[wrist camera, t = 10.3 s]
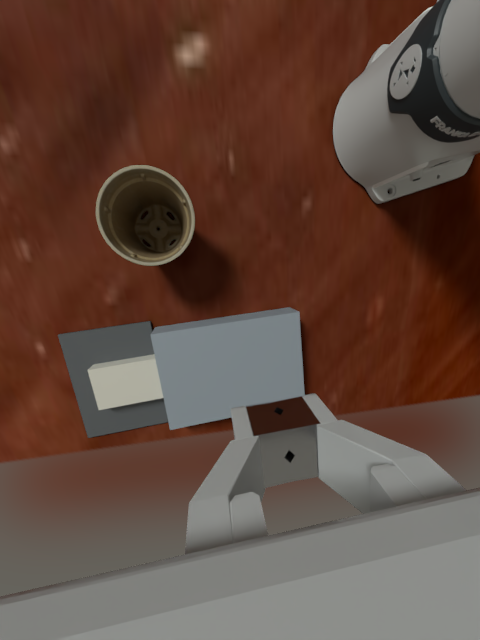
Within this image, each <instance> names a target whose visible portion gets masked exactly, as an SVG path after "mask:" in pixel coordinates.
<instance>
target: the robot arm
mask: <svg viewBox="0 0 480 640" xmlns="http://www.w3.org/2000/svg"><path fill="white" fill-rule="evenodd" d="M333 140H334V146H335V150H336V153H337V156H338V159H339V161H340V163H341V165H342V166H343V168H344V169H345V171H346V172H347V173H348V174H349V175H350V176H351V177H352V178H353V179H354V180H356V181H357V182H359V183H360V184H361V185H363V186H364V187H365V188H366V190H367V192H368V194H369V195H370V197H371V199H372V200H373V201H374V202H375V203H377V204H381V203H384V202H387V201H390V200H393V199H396V198H399V197H402V196H405V195H408V194H411V193H415V192H418V191H421V190H424V189H427V188H430V187H433V186H436V185H439V184H442V183H445V182H448V181H451V180H454V179H457V178H459V177H461V176H463V175H464V174H465V173H466V172H467V170H468V168H469V167H470V165H471V162H472V160H473V157H474V155H475V154H477V153H480V0H437V3H436V4H435V5H434V6H433V7H430V8H428V9H427V10H425V11H424V12H423V13H422V14H421V15H420V16H419V17H418V18H417V19H416V20H415V21H414V22H413V23H412V24H411V25H410V26H409V27H408V28H406V29H405V30H404V31H403V32H402V33H401V34H400V35H399V36H398V37H397V38H396V39H395V40H394V41H393V42H392V43H391V44H390V45H388V44H384V45H382V46H381V47H380V48H378V49H377V50H376V51H375V53H374V54H373V55H372V57H371V59H370V61H369V63H368V65H367V67H366V69H365V70H364V72H363V73H362V74H361V75H360V76H359V77H357V78H356V79H355V80H354V81H353V82H352V83H351V84H350V85H349V86H348V87H347V89H346V90H345V92H344V93H343V95H342V97H341V99H340V101H339V103H338V106H337V108H336V112H335V116H334V122H333ZM388 190H389V194H388ZM231 416H232V423H233V431H234V438H235V440H232V441H230V443H229V444H228V446H227V447H226V449H225V450H224V452H223V453H222V455H221V457H220V458H219V459H218V461H217V462H216V464H215V465H214V467H213V469H212V470H211V471H210V473H209V474H208V476H207V477H206V479H205V480H204V482H203V483H202V485H201V486H200V488H199V489H198V491H197V492H196V494H195V495H194V497H193V498H192V500H191V501H190V503H189V512H188V524H187V537H186V548H185V555H181V556H176V557H173V558H168V559H163V560H159V561H155V562H150V563H146V564H141V565H137V566H133V567H128V568H124V569H119V570H115V571H111V572H106V573H102V574H97V575H93V576H89V577H85V578H80V579H75V580H71V581H67V582H62V583H58V584H54V585H49V586H45V587H40V588H36V589H32V590H27V591H23V592H18V593H14V594H10V595H5V596H1V597H0V640H480V488H476V489H471V490H466V489H465V488H464V487H463V486H462V485H460V484H459V483H458V482H457V481H456V480H455V479H454V478H453V477H451V476H450V475H449V474H448V473H447V472H446V471H444V470H443V469H442V468H441V467H440V466H439V465H438V464H437V463H436V462H434V461H433V460H432V459H431V458H430V457H429V456H428V455H427V454H424V453H422V452H419V451H417V450H415V449H412V448H410V447H407V446H405V445H402V444H400V443H398V442H395V441H392V440H390V439H388V438H385V437H383V436H380V435H378V434H376V433H373V432H371V431H368V430H366V429H363V428H361V427H358V426H356V425H353V424H351V423H349V422H346V421H344V420H339V421H338V420H337V419H336V418H335V416H334V415H333V414H332V413H331V412H330V410H329V409H328V408H327V407H326V406H325V404H324V403H323V402H322V401H321V399H320V398H319V397H318V396H317V395H316V394H314V393H313V394H309V395H304V396H300V397H295V398H290V399H285V400H280V401H275V402H274V401H272V402H266V403H259V404H253V405H246V406H240V407H234V408H231ZM314 477H319V478H320V479H321V480H322V481H323V482H324V483H326V484H327V485H328V486H329V487H331V488H332V489H333V490H334V491H336V492H337V493H338V494H339V495H341V496H342V497H343V498H344V499H345V500H347V501H348V502H349V503H350V504H352V505H353V506H354V507H355V508H357V509H358V510H359V511H360V512H362V513H363V514H361V515H356V516H352V517H348V518H343V519H339V520H335V521H330V522H326V523H321V524H317V525H313V526H308V527H304V528H299V529H295V530H291V531H286V532H282V533H278V534H273V535H269V536H268V532H267V527H266V523H265V519H264V514H263V510H262V506H261V501H262V498H263V495H264V492H265V488H267V487H270V486H275V485H279V484H283V483H287V482H291V481H297V480H303V479H309V478H314Z"/></svg>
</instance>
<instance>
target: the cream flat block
mask: <svg viewBox="0 0 480 640" xmlns="http://www.w3.org/2000/svg"><path fill="white" fill-rule="evenodd" d="M87 371H88V374H89V378H90V381H91V385H92V388H93V392H94V395H95V399H96V402H97V406H98V409H99V410H103V409H108V408H114V407H119V406H124V405H129V404H135V403H140V402H145V401H150V400H155V399H161V398H163V393H162V388H161V384H160V379H159V374H158V369H157V364H156V359H155V355H154V354H153V355H147V356H141V357H135V358H129V359H123V360H117V361H111V362H105V363H99V364H94V365H92V366H91V367H90V368H89V369H88V370H87Z"/></svg>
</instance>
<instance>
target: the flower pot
mask: <svg viewBox="0 0 480 640" xmlns="http://www.w3.org/2000/svg"><path fill="white" fill-rule="evenodd" d="M145 211H148V215H146V216H145V217H144V219H141V217H142V215H143V214H144V212H145ZM167 212H170V213H171V214H172V215H173V217H174V218H175V219H174V220H172V219H171V218H170V217H169V216H168V215H167ZM96 219H97V223H98V227H99V230H100V232H101V234H102V236H103V238H104V239H105V241H106V242H107V244H108V245H109V246H110V247H111V248H112V249H113V250H114V251H115V252H116V253H117V254H119V255H120V256H122V257H123V258H125V259H127V260H129V261H131V262H133V263H136V264H140V265H145V266H156V265H162V264H165V263H168V262H170V261H172V260H174V259H176V258H177V257H178V256H179V255H181V254H182V253H183V252H184V251H185V249H186V248H187V246H188V245H189V243H190V241H191V239H192V236H193V233H194V227H195V215H194V209H193V205H192V202H191V200H190V198H189V196H188V194H187V192H186V191H185V189H184V188H183V186H182V185H181V184H180V183H179V182H178V181H177V180H176V179H175V178H174V177H172V176H171V175H170V174H168V173H167V172H165V171H163V170H160V169H158V168H155V167H152V166H148V165H134V166H129V167H125V168H123V169H120V170H119V171H117V172H116V173H114V174H113V175H112V176H110V177H109V178H108V179H107V181H106V182H105V183H104V185H103V186H102V188H101V190H100V192H99V194H98V198H97V202H96ZM157 227H159V228H160V230H159V231H158V230H157ZM143 239H144V240H145V241H146V242H148V243H149V244H150V245H151V246H150V247H148V246H146V245H145V244H144V243H143ZM174 239H175V240H176V241H175V242H174V243H173V244H172V245H169V244H170V243H171V241H173V240H174Z"/></svg>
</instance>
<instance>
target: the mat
mask: <svg viewBox="0 0 480 640" xmlns="http://www.w3.org/2000/svg"><path fill="white" fill-rule="evenodd" d="M152 332H153V331H152V326H151V321H147V322H140V323H133V324H126V325H119V326H113V327H106V328H99V329H92V330H85V331H78V332H71V333H64V334H59V335H58V337H59V341H60V344H61V347H62V351H63V354H64V357H65V361H66V364H67V368H68V371H69V374H70V378H71V381H72V385H73V388H74V391H75V395H76V398H77V402H78V405H79V408H80V412H81V415H82V419H83V422H84V425H85V429H86V432H87V436H88V438H90V437H95V436H100V435H105V434H110V433H116V432H121V431H126V430H131V429H136V428H141V427H146V426H151V425H156V424H161V423H166V422H168V417H167V413H166V408H165V403H164V398H161V399H155V400H150V401H145V402H140V403H135V404H129V405H124V406H119V407H114V408H108V409H103V410H99V409H98V406H97V402H96V399H95V395H94V392H93V388H92V385H91V381H90V378H89V374H88V371H87V370H88V369H89V368H90V367H91V366H92V365H94V364H99V363H105V362H111V361H117V360H123V359H129V358H135V357H141V356H147V355H153V354H154V350H153V345H152V340H151V335H150V334H151V333H152Z"/></svg>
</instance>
